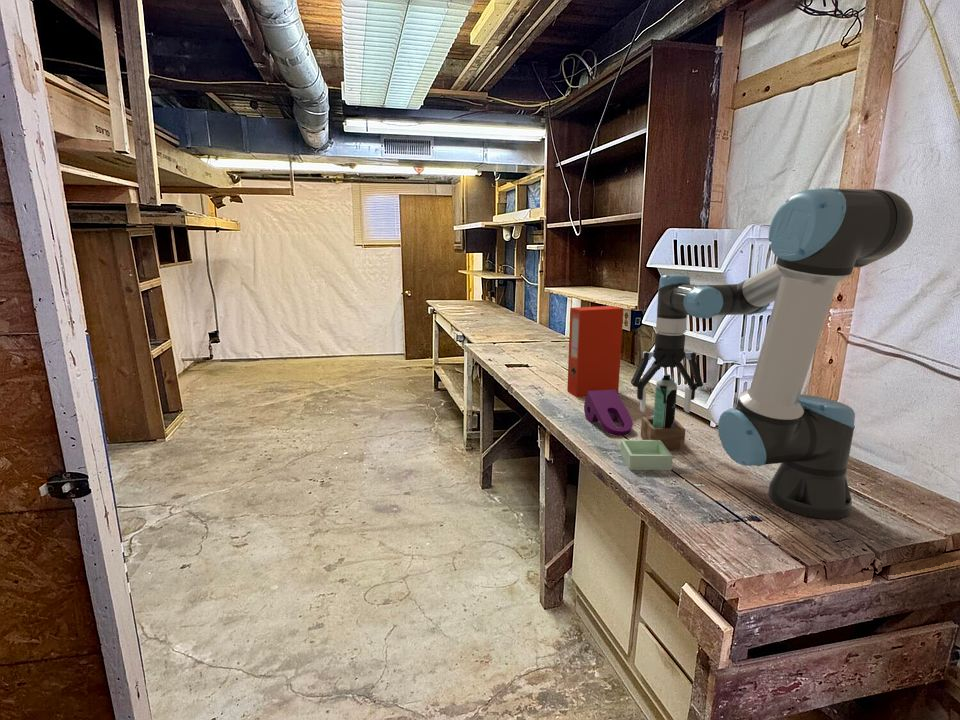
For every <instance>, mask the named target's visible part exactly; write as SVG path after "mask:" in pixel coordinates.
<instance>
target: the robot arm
mask: <svg viewBox="0 0 960 720" xmlns="http://www.w3.org/2000/svg"><path fill="white" fill-rule="evenodd" d="M913 224H914V216H913V211H912V209H911V207H910V205H909V203H908V202H907V201H906V200H905V199H904V198H903V197H902V196H900V195H898V194H897V193H895V192H893V191H890V190H885V189H881V188H879V189H877V188H875V189H874V188H870V189H869V188H868V189H861V188H859V189H857V188H856V189H855V188H833V187H821V188H816V189H806V190H802V191H799V192H797V193H795V194H793V195H792V196H791V197H789V198H788V199H786V200H785V201H784V202H783V203H782V204H781V205H780V206H779V208H778V209H777V210H776V211H775V214H774V215H773V218H772V220H771V223H770V226H769V231H768V242H771V243H770V244H769V247H770V250H771V251H772V253H773V255H775V256H776V257H777V258H776V262H775V263H774V264H772V265H770V266H768V267H766V268H765V269H763V270H761V271H760V272H757V273H756V274H754V275H752V276H751V277H748V278H747V279H745V280H742V281H741V282H740V283H736V284H735V283H734V284H733V283H732V284H704V285H703V284H701V285H700V284H691V277H690V276H689V275H688V274H679V273H677V274H675V273H671V274H668V273H667V274H663V275H662V276H660V278H659V285H658V289H657V291H658V292H657V308H656V323H655V324H656V326H655V331H656V333H655V337H654V338H655V339H654V349H653V351H646V350H643V351H642V352H641V359H640V360H639V363H638V366H637V368H636V370H635V372H634V375H633V376H632V378H631V381H630V385H632V386H633V387H635V388H637V390H636V391H637V392H636V398H637V399H638V400H639V410H640V412H642V413H646V403H647V388H646V385H648V383H649V382H650V380H651V379H652V378H653V377H654V376H655V374H657V372H658V371H659V370H660V369H661V368H663V369H664V368H665V369H667V368H671V369H674V368H677V370H678V372H680V375H681V376H682V377H683V379H684V380H685V383H686V384H687V386H685V388H684V399H683V400H684V402H683V410H684V411H685V412H686V413H688V414H689V413H691V403H692V401H695V395H696V390H697V389H698V388H701V387H703V386H704V383H703V380H702V377H701V374H700V370H699V367H698V363H697V353H696V352H694V351H692V350H690V351H687V352H686V351H685V346H686V335H685V333H686V332H687V322H688V321H687V318H688V316H690V317H691V316H692V317H695V318H697V319H700V318H701V319H711V318H713V317H715V316H733V315H734V316H737V315H738V316H739V315H740V316H741V315H745V316H751V315H755V314H756V315H757V314H762V313H764V312H766V311H767V309H768V308H769V307H770V305H771V303H773V302H774V303H773V307H772V310H771V313H770V315H769V316H770V317H769V320H768V324H767V327H766V331H765V335H764V338H763V341H762V346H761V349H760V352H759V356H758V359H757V361H756V366H755V369H754V372H753V373H754V374H753V377H752V381H751V382H750V387H749V389H746V390H743V391H741V392H740V393H739V394H738V395H739V396H738V399H737V402H736V406H735V407H734V408H728V409H727V410H725V411H723V412H722V413H721V414H720V416H719V419H718V423H717V424H718V425H717V431H718V437H719V440H720V442H721V446H722V448H723V449H724V451H725V452H726V454H727V455H728V457H729V458H730V459H731V460H732V461H734V462H736V464H739V465H741V466H743V467H744V466H746V467H749V466H753V467H754V466H756V467H762V466H765V465H773V464H774V465H775V464H780V465H778V468H777V470H776V472H775V473H774V475H773V478H772V479H771V481H770V482H769V485H768V491H767V492H768V493H767V494H768V497H769V498H770V499H771V501H773V502H774V503H775V504H776V505H778V506H779V507H781V508H782V509H785V510H787V511H790V512H792V513H794V514H797V515H801V516H804V517H808V516H809V518H814V519H820V520H838V519H839V520H841V519H844V518H846V517H848V516H849V515H850V514H851V510H852V505H853V501H852V497H851V492H850V491H851V490H850V487H849V483H848V480H847V471H848V465H849V461H850V460H849V458H850V453H851V447H852V442H853V437H854V436H853V435H854V430H855V428H856V426H855V420H856V419H855V418H856V413H855V411H854V409H853V408H852V407H851V406H849V405H848V404H845V403H843V402H840V401H837V400H833V399H829V398H826V397H823V396H821V397H820V396H817V395H816V396H815V395H810V394H804V393H803V394H801V393H802V392H803V391H802V390H803V388H804V384H805V381H806V378H807V377H808V372H809V370H810V367H811V364H812V361H813V358H814V355H815V352H816V348H817V345H818V342H819V340H820V336H821V333H822V331H823V327H824V324H825V322H826V319H827V316H828V313H829V310H830V306H831V303H832V301H833V297H834V295H835V291H836V288H837V285H838V284H839V282H842V281H843V280H845V279H847V278H849V277H851V275H852V274H853V271H854V269H856V268H857V269H859V268H863V267H865V266H868V265H869V264H872V263H874V262H877V261H878V260H881V259H883V258H885V257H888V256H889V255H891V254H893V253H894V252H896V251H897V250H898V249H900V248H901V247H902V246H903V245H904V243H905V242H906V241H907V239H908V238H909V237H910V234H911V232H912V229H913V226H914V225H913ZM652 357H653V358H654V361H653V362H652V364H651V366H650V367H649V368H648V370H647V371H646V373H644V372H645V370H646V368H647V365H648V363H649V361H650V360H651V359H652ZM685 357H686V360H687V361H688V364H689V367H690V370H691V374H692V377H693V379H692V377H691V376H690V375H689V373H688V371H687V370H686V368H685V366H684V365H683V363H682V361H683V360H684V358H685Z"/></svg>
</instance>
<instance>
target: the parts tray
mask: <svg viewBox="0 0 960 720" xmlns="http://www.w3.org/2000/svg"><path fill="white" fill-rule="evenodd" d="M619 454H620V456H621V457H622V460H623V461H624V463H625V465H626V466H627V469H628V470H629V471H635V470H636V471H672V470H673V469H672V468H673V459H674V457H673V454H672V453H671V452H670V450H668V449H667V448H666V447H665V446H664V444H663V443H662V442H661V441H660V440H643V439H620V446H619Z"/></svg>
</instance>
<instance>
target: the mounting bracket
mask: <svg viewBox="0 0 960 720" xmlns="http://www.w3.org/2000/svg"><path fill="white" fill-rule="evenodd" d="M583 410H584V416H585V419H586V421H587V422H589V423H598V424H599V425H600V428H602V429H603V431H604V432H606V433H607V434H608V435H611V436H614V435H615V437H616V436H617V437H620V436H621V437H623V436H622V435H624V436H627V434H628V435H629V434H630V433H631V432H632V428H633V426H634V420H633V418H632V417H631V415H630V413H629V411H628V409H627V408H626V405H625V404H624V402H623V401H622V398H621V397H620V395H619V392H618V393H617V391H616V389H614V390H598V391H588V392H587V396H585V399H584V405H583ZM617 420H618V423H619V425H620V426H621V427H620V426H616V425H615V423H614V422H615V421H616V422H617Z"/></svg>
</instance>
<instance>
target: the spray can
mask: <svg viewBox="0 0 960 720" xmlns="http://www.w3.org/2000/svg"><path fill="white" fill-rule="evenodd" d="M677 391H678V384H677V383H676V382H674V381H673V378H672V377H671V374H664V375H663V377H662V378H661V380H659V381H656V385H655V394H654V405H653V415H654V418H653V427H654V428H674V418H675V419H676V417H675V415H676V407H677V406H676V405H677V393H678V392H677Z"/></svg>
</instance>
